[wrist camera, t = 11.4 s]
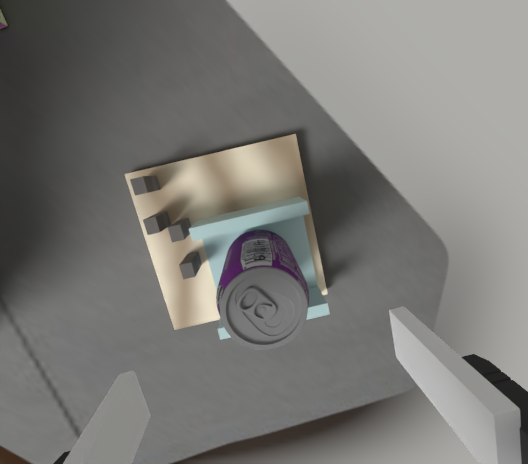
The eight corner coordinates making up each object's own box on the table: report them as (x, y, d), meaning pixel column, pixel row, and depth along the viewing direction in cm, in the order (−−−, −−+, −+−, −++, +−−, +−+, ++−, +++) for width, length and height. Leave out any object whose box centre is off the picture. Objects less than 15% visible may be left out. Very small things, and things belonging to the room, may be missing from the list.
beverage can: (213, 268, 33) (192, 322, 21) (251, 215, 32) (252, 241, 20) (266, 302, 34) (275, 373, 22) (304, 252, 33) (335, 298, 21)
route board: (177, 324, 36) (164, 350, 31) (129, 173, 32) (106, 174, 27) (325, 290, 36) (337, 310, 31) (294, 135, 32) (302, 128, 27)
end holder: (224, 315, 35) (220, 339, 30) (198, 219, 32) (188, 228, 27) (318, 293, 35) (329, 314, 30) (298, 196, 32) (306, 201, 27)
